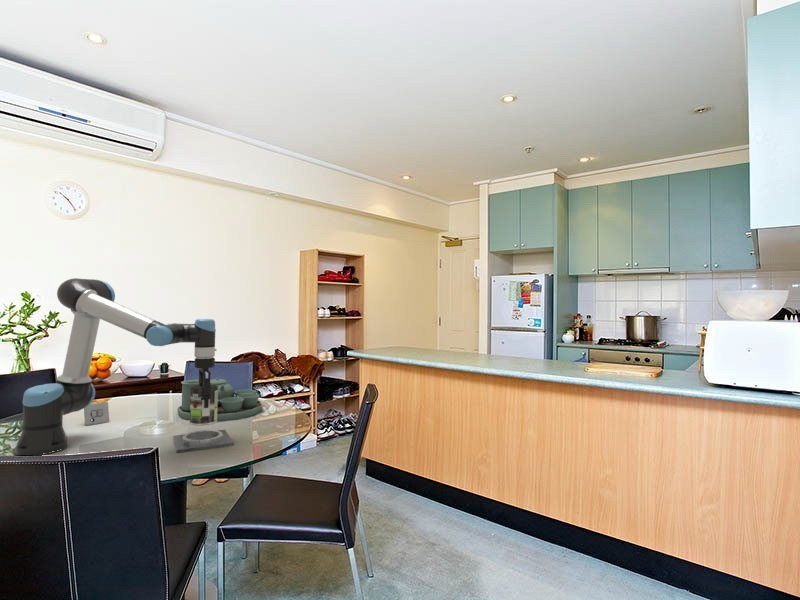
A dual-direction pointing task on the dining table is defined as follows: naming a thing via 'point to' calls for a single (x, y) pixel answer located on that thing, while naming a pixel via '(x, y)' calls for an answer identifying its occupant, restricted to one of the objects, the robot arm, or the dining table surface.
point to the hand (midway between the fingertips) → (203, 412)
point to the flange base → (202, 440)
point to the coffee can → (196, 406)
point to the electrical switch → (96, 413)
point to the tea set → (224, 401)
